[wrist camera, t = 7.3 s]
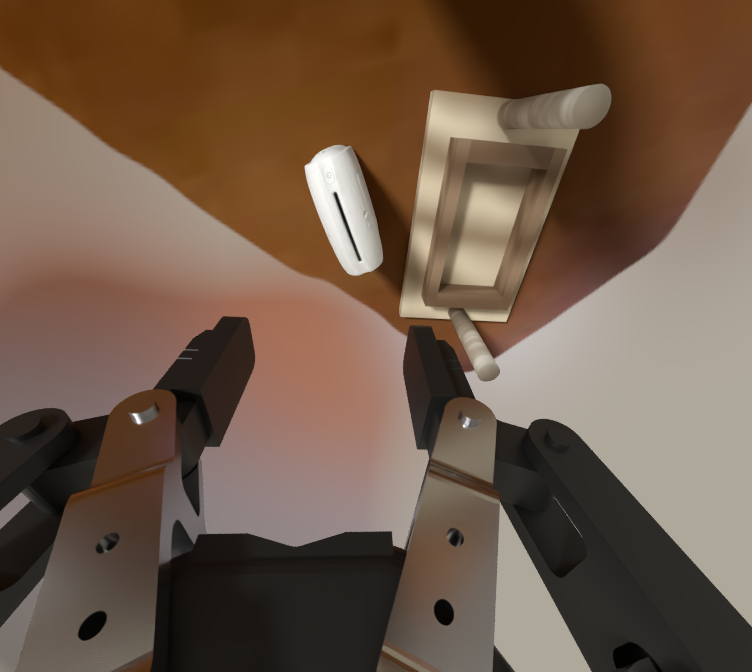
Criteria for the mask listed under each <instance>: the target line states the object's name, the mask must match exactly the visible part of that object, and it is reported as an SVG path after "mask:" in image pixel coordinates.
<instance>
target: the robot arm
mask: <svg viewBox="0 0 752 672" xmlns="http://www.w3.org/2000/svg"><path fill="white" fill-rule="evenodd" d="M254 364H255V351H254V346H253V340H252V335H251V329H250V324H249V320H248V318H246V317H228V316H227V317H226V316H224V317H222V318H221V319H220V321H219V322H218V323H217V325H216V326H215V328H214V329H213V330H205V331H204V332H202V333H201V334H199V335H198V336H196V337H195V338H193V339H192V341H191V342H190V343H189V344H188V346H187V347H186V348H185V351H183V352H182V353H181V354H180V356H179V358H178V359H177V360H176V361H175V362H174V363H173V365H172V366H171V367H170V368H169V370H168V371H167V372H166V374H165V375H164V376H163V377H162V378H161V380H160V381H159V382H158V384H157V385H156V386H155V387H154V389H153V390H147V391H143V392H140V393H137V394H134V395H132V396H130V397H128V398H126V399H125V400H124V401H122V402H120V403H119V404H118V405H117V406H116V407H115V408H114V409H113V410H112V411H111V413H110V414H109V415H105V416H100V417H95V418H90V419H85V420H80V421H75V422H72V420H71V419H70V418H69V416H68V415H67V414H66V413H65V411H63V410H61V409H56V408H45V409H39V410H34V411H30V412H27V413H24V414H22V415H19V416H17V417H14V418H12V419H10V420H8V421H7V422H5V423H3V424H1V425H0V510H2V508H4V507H5V506H6V505H7V504H8V503H9V502H10V501H12V500H13V499H14V498H15V497H16V496H17V495H18V494H19V493H21V492H22V493H23V494H24V495H25V496H26V497H27V498H28V499H29V500H31V501H30V502H29V503H28V504H27V505H26V506H25V507H24V508H23V509H22V510H20V511H19V512H18V514H16V515H15V516H14V517H13V518H12V519H11V520H10V521H9V522H8V523H7V524H6V525H5V526H4V527H3V528H1V530H0V627H1V626H2V625H3V624H4V623H5V621H6V620H7V619H8V618H9V617H10V615H11V614H12V613H13V612H14V611H15V610H16V608H17V607H18V606H19V605H20V604H21V603H22V601H23V600H24V599H25V598H26V597H27V595H28V594H29V593H30V592H31V591H32V590H33V588H34V587H35V586H36V585H37V584H38V582H39V581H40V580H41V579H42V578H43V576H44V578H43V582H42V585H41V588H40V591H39V594H38V598H37V601H36V604H35V608H34V611H33V614H32V617H31V621H30V624H29V627H28V631H27V634H26V637H25V641H24V644H23V647H22V650H21V654H20V657H19V660H18V663H17V667H16V670H15V672H515V671H514V670H513V669H512V668H511V666H510V665H509V664H508V663H507V661H506V660H505V658H504V657H503V656H502V655H501V653H500V652H499V651H498V649H497V648H496V647H495V646H494V625H495V624H494V623H495V602H496V601H495V600H496V579H497V556H498V532H499V508H500V502H501V504H502V506H503V508H504V510H505V512H506V514H507V515H508V517H509V519H510V521H511V523H512V525H513V527H514V528H515V530H516V532H517V534H518V536H519V538H520V540H521V541H522V543H523V545H524V547H525V549H526V550H527V553H528V554H529V556H530V558H531V560H532V562H533V563H534V565H535V567H536V569H537V571H538V573H539V575H540V577H541V578H542V580H543V582H544V584H545V586H546V588H547V590H548V591H549V593H550V595H551V597H552V599H553V601H554V602H555V604H556V606H557V608H558V610H559V612H560V614H561V615H562V617H563V619H564V621H565V623H566V625H567V627H568V628H569V630H570V632H571V634H572V636H573V638H574V640H575V641H576V643H577V645H578V647H579V649H580V650H581V653H582V654H583V656H584V658H585V660H586V662H587V664H588V665H589V667H590V669H591V671H592V672H752V627H751V626H750V625H749V624H748V622H747V621H746V620H745V619H744V618H743V617H742V616H741V615H740V613H739V612H738V611H737V610H736V609H735V608H734V607H733V606H732V605H731V604H730V602H729V601H728V600H727V599H726V598H725V597H724V596H723V595H722V594H721V592H720V591H719V590H718V589H717V588H716V587H715V586H714V585H713V584H712V583H711V581H710V580H709V579H708V578H707V577H706V576H705V575H704V574H703V573H702V571H701V570H700V569H699V568H698V567H697V566H696V565H695V564H694V563H693V562H692V561H691V559H690V558H689V557H688V556H687V555H686V554H685V553H684V552H683V551H682V550H681V548H680V547H679V546H678V545H677V544H676V543H675V542H674V541H673V539H672V538H671V537H670V536H669V535H668V534H667V533H666V532H665V531H664V530H663V528H662V527H661V526H660V525H659V524H658V523H657V522H656V521H655V520H654V518H653V517H652V516H651V515H650V514H649V513H648V512H647V511H646V510H645V508H644V507H643V506H642V505H641V504H640V503H639V502H638V501H637V500H636V499H635V497H634V496H633V495H632V494H631V493H630V492H629V491H628V490H627V489H626V487H624V485H623V484H622V483H621V482H620V481H619V480H618V479H617V478H616V477H615V475H614V474H613V473H612V472H611V471H610V470H609V469H608V468H607V466H606V465H605V464H604V463H603V462H602V461H601V460H600V459H599V458H598V457H597V456H596V454H595V453H594V452H593V451H592V450H591V449H590V448H589V447H588V446H587V444H586V443H585V442H584V441H583V440H582V439H581V438H580V437H579V436H578V435H577V434H576V433H575V432H574V431H573V430H571V429H570V428H568V427H567V426H565V425H563V424H561V423H559V422H556V421H553V420H549V419H538V420H535V421H533V422H532V423H531V425H530V426H529V428H528V429H525V428H522V427H518V426H515V425H511V424H508V423H504V422H501V421H499V420H497V419H496V418H495V415H494V414H493V412H492V411H491V410H490V409H489V408H488V407H487V406H486V405H484V404H483V403H481V402H480V401H478V400H476V399H475V397H474V395H473V392H472V390H471V388H470V386H469V383H468V381H467V379H466V376H465V374H464V372H463V369H462V367H461V365H460V362H459V361H458V358H457V355H456V353H455V351H454V349H453V348H452V347H451V346H450V345H449V344H448V343H447V342H446V341H445V340H436V338H435V335H434V333H433V330H432V327H431V326H415V325H411V326H410V327H409V331H408V337H407V342H406V348H405V354H404V360H403V375H404V380H405V386H406V391H407V397H408V402H409V407H410V413H411V419H412V424H413V429H414V435H415V440H416V446H417V449H426V450H428V455H429V461H428V465H427V468H426V472H425V476H424V480H423V483H422V486H421V490H420V494H419V497H418V501H417V505H416V508H415V512H414V516H413V520H412V523H411V527H410V530H409V533H408V537H407V540H406V544H405V547H404V549H402V548H399V547H396V546H393V542H392V532H345V533H342V534H339V535H335V536H332V537H329V538H325V539H322V540H319V541H315V542H312V543H309V544H306V545H303V546H298V547H293V546H288V545H285V544H281V543H278V542H275V541H271V540H268V539H264V538H261V537H258V536H255V535H251V534H207V532H206V527H205V516H204V494H203V472H202V461H201V459H200V456H201V454H202V452H203V450H204V447H219V446H220V444H221V442H222V440H223V437H224V435H225V433H226V430H227V428H228V426H229V424H230V421H231V419H232V417H233V415H234V412H235V410H236V407H237V405H238V403H239V401H240V399H241V396H242V394H243V392H244V389H245V387H246V385H247V382H248V380H249V378H250V375H251V373H252V371H253V368H254ZM555 498H556V499H557V500H556V499H555ZM557 501H558V502H559V503H558V502H557ZM559 504H560V505H561V506H562V507H561V506H560V505H559ZM562 508H563V509H564V510H563V509H562ZM564 511H565V512H566V513H565V512H564ZM566 514H567V515H568V516H569V518H570V519H571V520H570V519H569V518H568V516H567V515H566ZM571 521H572V522H573V523H572V522H571ZM573 524H574V525H575V526H574V525H573ZM575 527H576V528H577V529H578V531H579V532H580V534H581V535H580V534H579V532H578V531H577V529H576V528H575ZM581 536H582V537H583V538H582V537H581Z"/></svg>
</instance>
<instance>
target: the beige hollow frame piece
mask: <svg viewBox="0 0 752 672" xmlns="http://www.w3.org/2000/svg"><path fill="white" fill-rule="evenodd" d="M610 105H611V92H610V89H609V88H608V87H607V86H606V85H604V84H595V85H590V86H584V87H579V88H574V89H568V90H563V91H558V92H552V93H547V94H542V95H537V96H531V97H526V98H521V99H508V98H499V97H490V96H482V95H473V94H464V93H455V92H447V91H438V90H433V91H431V94H430V101H429V108H428V115H427V122H426V129H425V135H424V142H423V149H422V156H421V163H420V170H419V177H418V184H417V191H416V197H415V204H414V211H413V218H412V225H411V232H410V239H409V246H408V253H407V260H406V266H405V273H404V280H403V287H402V294H401V301H400V308H399V314H400V317H415V318H436V319H451V322H452V324H453V326H454V328H455V330H456V332H457V334H458V336H459V338H460V340H461V342H462V344H463V346H464V348H465V351H466V353H467V355H468V357H469V359H470V361H471V363H472V365H473V367H474V369H475V371H476V373H477V375H478V377H479V379H480V380H482V381H491V380H494V379H495V378H496V377H497V376H498V375H499V373H500V370H499V367H498V366H497V364H496V363H495V361H494V359H493V357H492V355H491V354H490V352H489V350H488V349H487V347H486V345H485V343H484V342H483V340H482V338H481V337H480V335H479V333H478V332H477V330H476V328H475V326H474V325H473V323H472V321H471V320H477V321H498V322H506V321H507V318H508V316H509V313H510V311H511V308H512V305H513V303H514V300H515V298H516V295H517V292H518V290H519V287H520V285H521V282H522V279H523V277H524V274H525V271H526V269H527V266H528V264H529V261H530V258H531V256H532V253H533V251H534V248H535V245H536V243H537V240H538V237H539V235H540V232H541V230H542V227H543V224H544V222H545V219H546V217H547V214H548V211H549V209H550V206H551V204H552V201H553V198H554V196H555V193H556V190H557V188H558V185H559V183H560V180H561V177H562V175H563V172H564V170H565V167H566V164H567V162H568V159H569V156H570V154H571V151H572V149H573V146H574V143H575V141H576V138H577V136H578V133H579V130H580V129H589V128H592V127H594V126H596V125H597V124H598V123H600V122H601V121H602V120H603V118H604V117H605V116H606V114H607V112H608V110H609V108H610Z"/></svg>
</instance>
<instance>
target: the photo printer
mask: <svg viewBox="0 0 752 672" xmlns="http://www.w3.org/2000/svg"><path fill="white" fill-rule="evenodd" d="M305 173H306V178H307V182H308V186H309V189H310V192H311V195H312V198H313V201H314V203H315V206H316V209H317V212H318V214H319V217H320V219H321V222H322V224H323V227H324V229H325V231H326V234H327V236H328V238H329V241H330V243H331V245H332V247H333V249H334V252H335V254H336V256H337V258H338V260H339V261H340V263H341V265H342V266H343V268H344V269H345V270H346V272H347V273H348V274H350V275H361V274H363V273H365V272H371V271H373V270H374V269H376V268H377V267H378V266H380V264H381V263H382V261H383V252H382V245H381V241H380V236H379V230H378V224H377V219H376V217H375V213H374V209H373V206H372V202H371V199H370V196H369V192H368V189H367V186H366V183H365V180H364V177H363V174H362V171H361V168H360V165H359V162H358V159H357V157H356V155H355V152H354V151H353V149H352V147H351V146H349V147H345V146H343V145H334V146H331V147H329V148H326V149H324V150H322V151H320V152H319V153H317V154H316V155H315V157H314V158H313V159H312V161H311V162H310V163H308V164H307V165H305Z"/></svg>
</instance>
